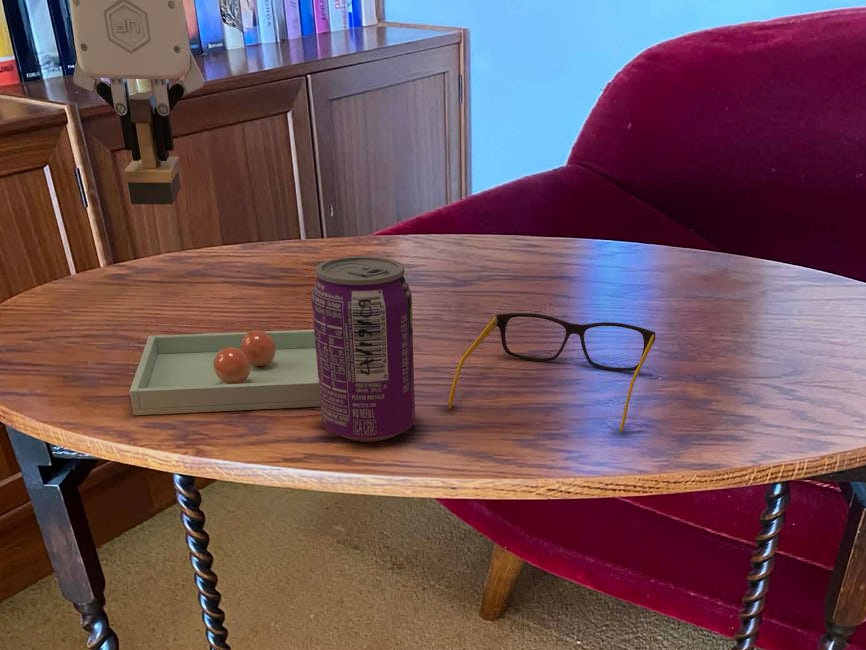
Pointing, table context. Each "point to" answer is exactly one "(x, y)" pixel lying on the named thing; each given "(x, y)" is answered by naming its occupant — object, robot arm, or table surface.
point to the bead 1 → (232, 365)
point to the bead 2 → (258, 348)
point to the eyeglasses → (570, 329)
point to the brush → (150, 159)
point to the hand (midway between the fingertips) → (151, 157)
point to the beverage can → (364, 347)
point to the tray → (204, 392)
